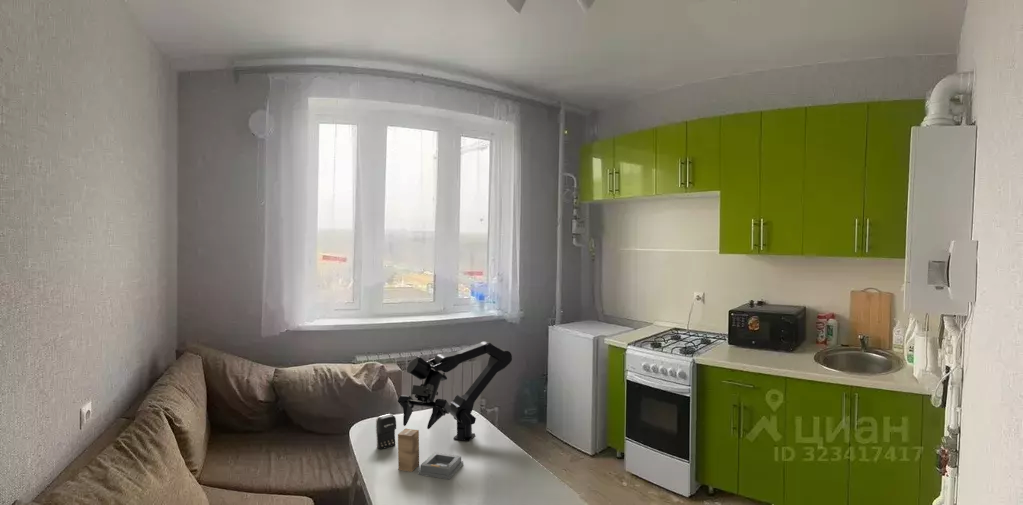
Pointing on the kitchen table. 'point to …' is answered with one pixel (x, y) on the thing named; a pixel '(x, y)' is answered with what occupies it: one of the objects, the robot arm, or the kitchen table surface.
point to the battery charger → (385, 431)
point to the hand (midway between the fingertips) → (415, 427)
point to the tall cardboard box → (408, 450)
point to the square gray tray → (441, 465)
